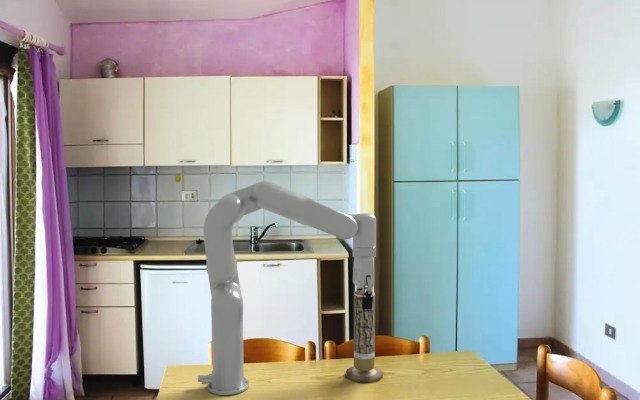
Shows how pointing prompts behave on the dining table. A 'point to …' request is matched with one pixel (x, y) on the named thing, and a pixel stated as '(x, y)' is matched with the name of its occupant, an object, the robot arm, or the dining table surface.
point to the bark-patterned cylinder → (364, 333)
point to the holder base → (364, 375)
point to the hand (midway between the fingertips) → (364, 305)
